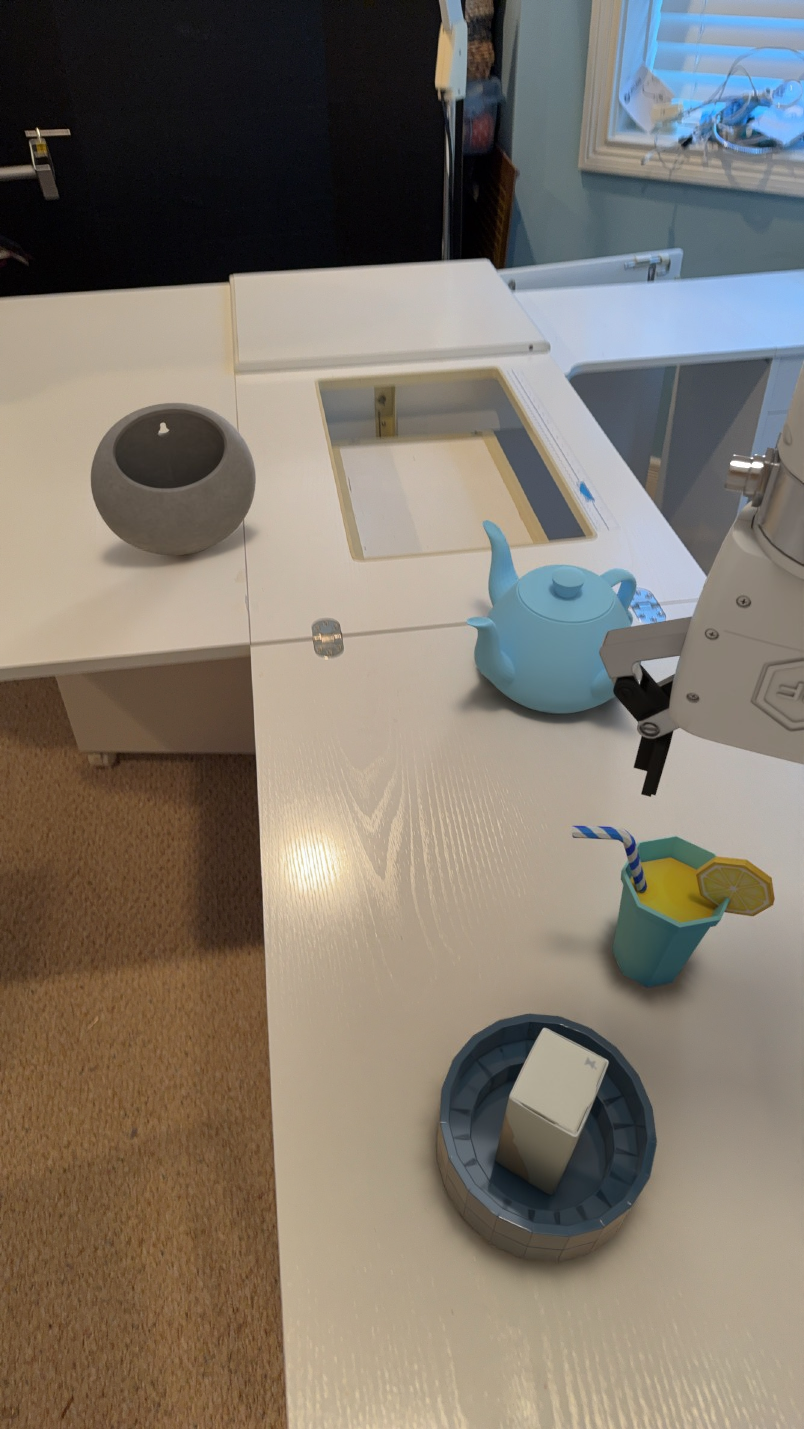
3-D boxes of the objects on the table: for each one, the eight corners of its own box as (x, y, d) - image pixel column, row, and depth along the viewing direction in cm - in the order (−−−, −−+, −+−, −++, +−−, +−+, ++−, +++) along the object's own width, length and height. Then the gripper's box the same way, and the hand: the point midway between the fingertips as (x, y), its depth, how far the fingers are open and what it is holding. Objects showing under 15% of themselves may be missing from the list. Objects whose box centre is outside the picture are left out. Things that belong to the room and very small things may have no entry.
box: (525, 1094, 60) (545, 1020, 53) (583, 1128, 59) (613, 1057, 51) (491, 1165, 57) (507, 1096, 49) (551, 1202, 56) (578, 1138, 48)
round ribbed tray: (654, 1097, 61) (674, 1059, 57) (610, 1303, 52) (629, 1278, 48) (475, 1025, 64) (481, 985, 60) (406, 1208, 56) (407, 1176, 52)
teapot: (457, 722, 87) (464, 625, 78) (476, 607, 100) (484, 513, 91) (633, 743, 85) (661, 646, 76) (629, 623, 98) (652, 529, 89)
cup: (542, 984, 67) (570, 869, 56) (549, 898, 72) (575, 779, 62) (730, 1017, 65) (796, 904, 55) (723, 927, 71) (781, 809, 60)
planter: (115, 583, 102) (74, 433, 89) (108, 550, 107) (68, 403, 94) (270, 553, 107) (253, 406, 94) (256, 522, 112) (238, 378, 99)
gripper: (615, 516, 32) (562, 809, 45) (1159, 618, 28) (935, 915, 40) (652, 426, 37) (595, 711, 49) (1119, 500, 33) (931, 796, 45)
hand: (747, 802), depth 45 cm, fingers open, 9 cm apart
